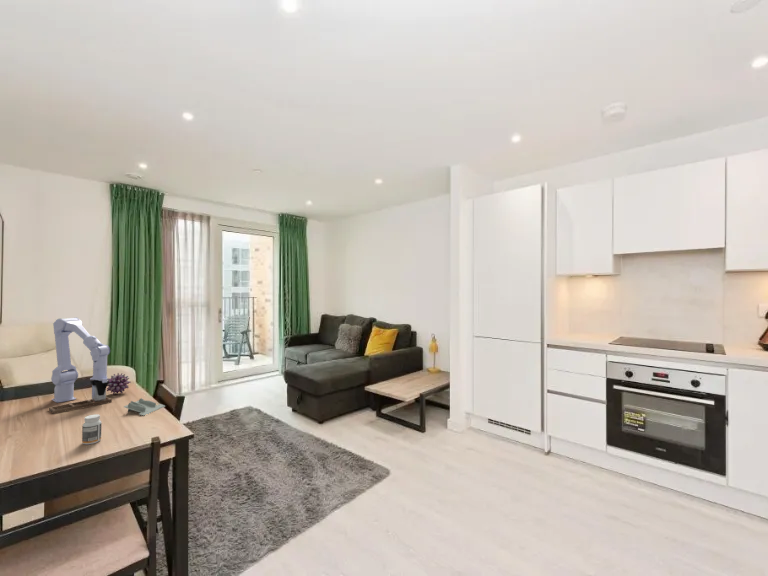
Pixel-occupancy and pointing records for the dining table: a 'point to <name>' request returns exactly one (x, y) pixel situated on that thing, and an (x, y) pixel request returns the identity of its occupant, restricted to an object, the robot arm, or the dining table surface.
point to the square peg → (95, 394)
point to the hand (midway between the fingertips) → (99, 394)
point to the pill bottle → (91, 429)
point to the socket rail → (73, 406)
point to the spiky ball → (118, 383)
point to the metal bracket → (143, 406)
